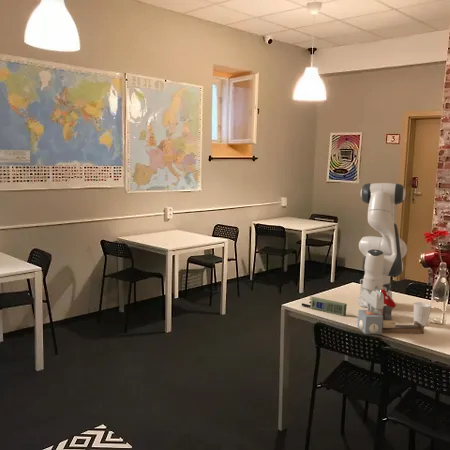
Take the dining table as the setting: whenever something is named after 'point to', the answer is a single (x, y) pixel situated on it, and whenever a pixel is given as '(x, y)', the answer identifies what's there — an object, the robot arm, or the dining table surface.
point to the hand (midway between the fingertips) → (370, 312)
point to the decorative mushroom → (386, 302)
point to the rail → (405, 329)
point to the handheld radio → (327, 306)
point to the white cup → (421, 313)
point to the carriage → (388, 318)
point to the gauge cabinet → (370, 322)
